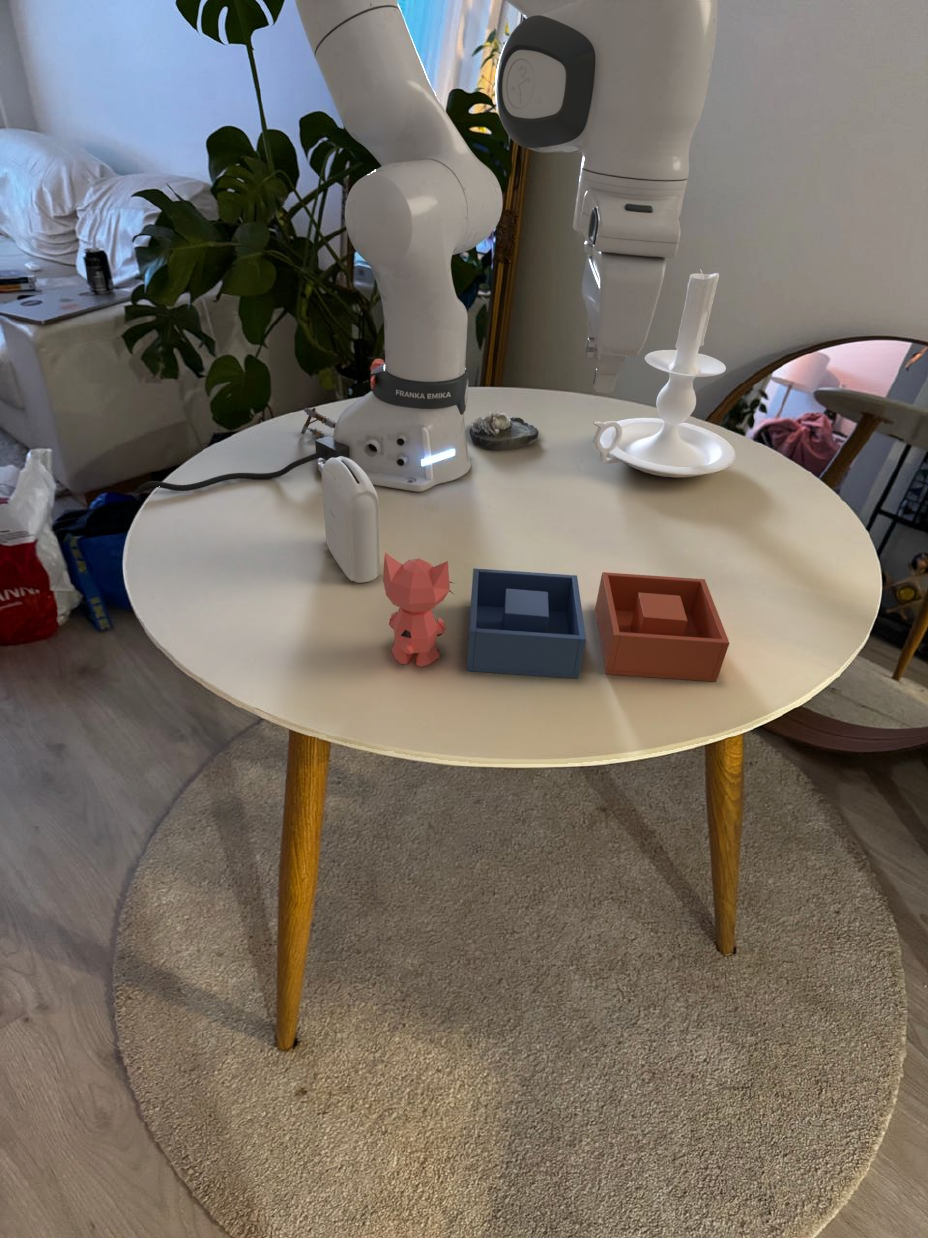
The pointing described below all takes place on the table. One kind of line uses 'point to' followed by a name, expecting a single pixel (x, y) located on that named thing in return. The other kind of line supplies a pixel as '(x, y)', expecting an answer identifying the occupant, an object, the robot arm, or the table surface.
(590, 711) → the table surface
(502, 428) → the shell on grey dish
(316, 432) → the wooden post with brackets
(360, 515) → the photo printer
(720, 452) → the candlestick
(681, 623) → the terracotta block
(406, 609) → the cat figurine
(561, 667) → the slate bin
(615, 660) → the terracotta bin
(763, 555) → the table surface
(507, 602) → the slate block
